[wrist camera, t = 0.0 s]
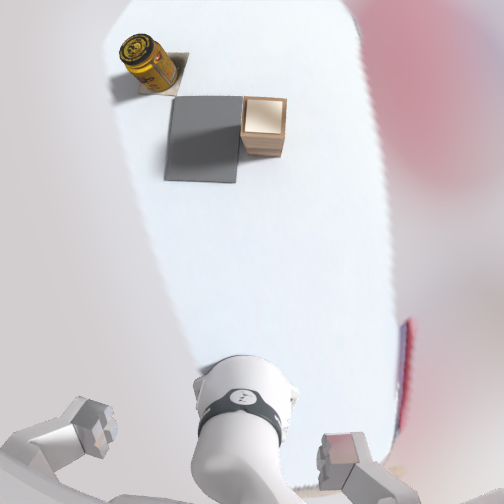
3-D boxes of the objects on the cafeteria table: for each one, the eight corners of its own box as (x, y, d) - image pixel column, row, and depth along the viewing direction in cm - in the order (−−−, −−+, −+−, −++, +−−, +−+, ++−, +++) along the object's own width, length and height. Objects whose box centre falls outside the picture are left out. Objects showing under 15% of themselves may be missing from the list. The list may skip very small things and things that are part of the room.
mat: (235, 182, 47) (235, 182, 46) (167, 179, 47) (166, 179, 47) (242, 97, 45) (242, 96, 44) (176, 97, 45) (175, 96, 45)
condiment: (138, 93, 46) (106, 67, 34) (152, 52, 44) (125, 20, 33) (177, 96, 45) (152, 67, 34) (189, 53, 44) (170, 18, 32)
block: (280, 157, 46) (284, 138, 33) (247, 154, 46) (240, 135, 33) (282, 126, 45) (287, 98, 32) (250, 124, 46) (243, 95, 33)
